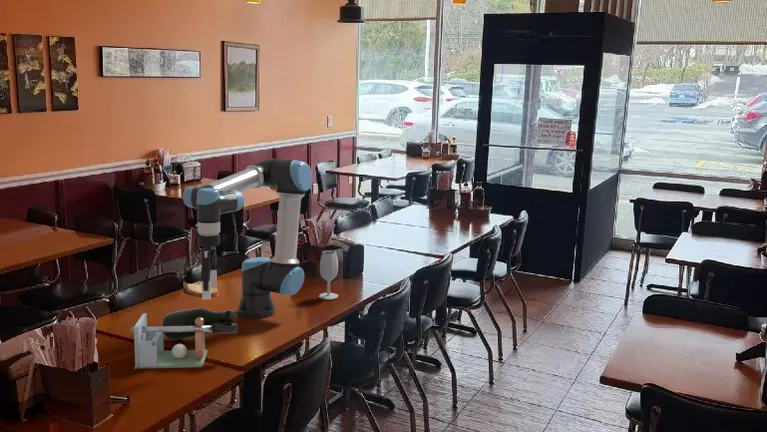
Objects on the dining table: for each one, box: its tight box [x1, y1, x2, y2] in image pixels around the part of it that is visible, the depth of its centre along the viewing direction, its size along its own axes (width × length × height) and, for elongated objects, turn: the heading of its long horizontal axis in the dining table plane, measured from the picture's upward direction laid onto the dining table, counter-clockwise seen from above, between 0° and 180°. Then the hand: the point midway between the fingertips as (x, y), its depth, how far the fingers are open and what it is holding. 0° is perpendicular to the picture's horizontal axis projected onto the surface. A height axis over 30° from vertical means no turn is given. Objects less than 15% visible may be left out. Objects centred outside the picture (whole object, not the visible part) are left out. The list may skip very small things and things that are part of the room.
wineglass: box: [318, 250, 339, 301], centre depth 305 cm, size 9×9×21 cm
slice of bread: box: [184, 280, 220, 298], centre depth 312 cm, size 18×18×4 cm
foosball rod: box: [130, 317, 238, 358], centre depth 234 cm, size 35×6×14 cm, turn 97°
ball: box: [171, 343, 188, 359], centre depth 235 cm, size 5×5×5 cm
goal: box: [133, 312, 165, 369], centre depth 233 cm, size 7×14×14 cm, turn 7°
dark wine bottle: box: [161, 307, 238, 341], centre depth 244 cm, size 10×10×33 cm
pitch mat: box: [134, 349, 208, 370], centre depth 235 cm, size 22×14×1 cm, turn 97°
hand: (209, 293), depth 237 cm, fingers open, 13 cm apart
